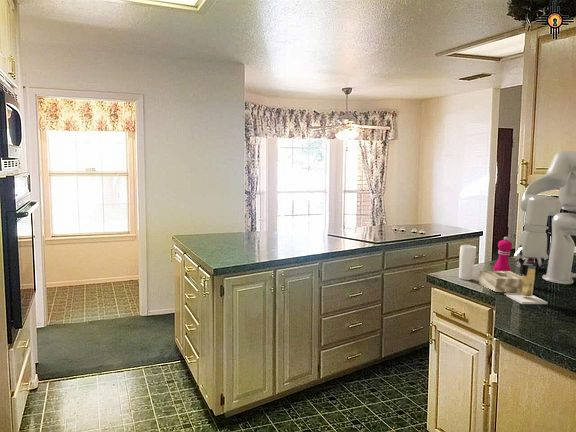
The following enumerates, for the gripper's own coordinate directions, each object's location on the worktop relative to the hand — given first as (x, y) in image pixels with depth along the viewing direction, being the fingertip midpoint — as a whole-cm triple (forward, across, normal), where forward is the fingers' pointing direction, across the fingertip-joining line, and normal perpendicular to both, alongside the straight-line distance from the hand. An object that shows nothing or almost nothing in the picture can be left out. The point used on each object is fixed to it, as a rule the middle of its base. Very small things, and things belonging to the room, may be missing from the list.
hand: (528, 274), depth 185 cm
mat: (+10, 0, 0) cm, 10 cm away
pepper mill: (+11, -7, -27) cm, 30 cm away
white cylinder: (+11, +10, -28) cm, 32 cm away
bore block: (+10, +1, -14) cm, 17 cm away
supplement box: (+11, -37, -51) cm, 64 cm away
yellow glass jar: (+8, 0, 0) cm, 8 cm away
